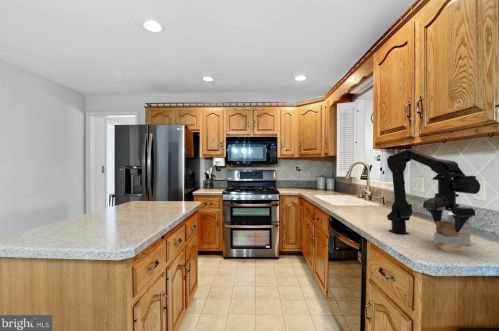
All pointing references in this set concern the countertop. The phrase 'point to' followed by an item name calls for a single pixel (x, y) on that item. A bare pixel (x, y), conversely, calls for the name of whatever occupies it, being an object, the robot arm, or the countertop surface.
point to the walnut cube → (446, 228)
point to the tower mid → (447, 239)
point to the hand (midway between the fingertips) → (447, 228)
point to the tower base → (447, 246)
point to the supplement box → (462, 231)
